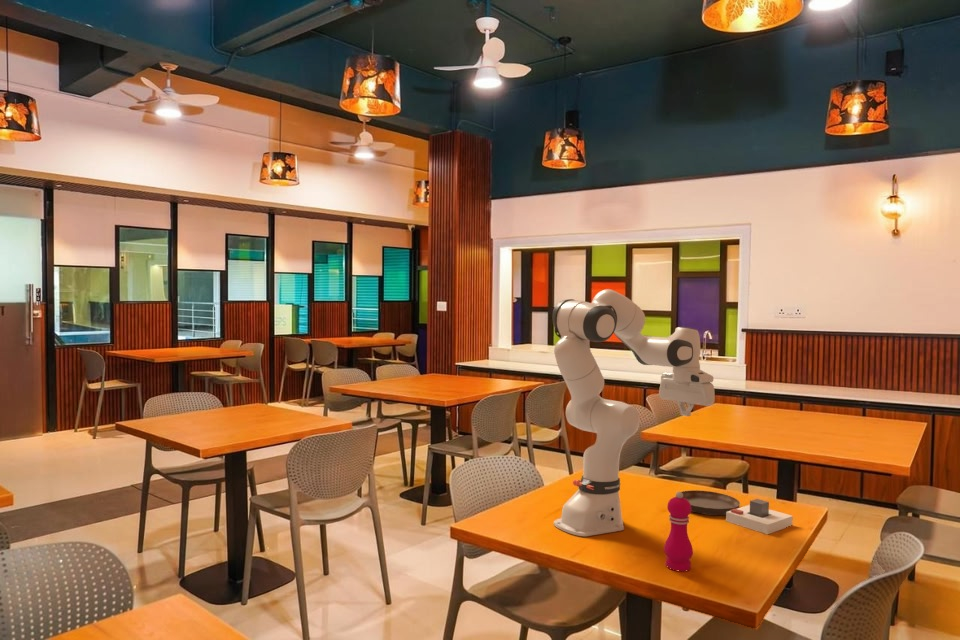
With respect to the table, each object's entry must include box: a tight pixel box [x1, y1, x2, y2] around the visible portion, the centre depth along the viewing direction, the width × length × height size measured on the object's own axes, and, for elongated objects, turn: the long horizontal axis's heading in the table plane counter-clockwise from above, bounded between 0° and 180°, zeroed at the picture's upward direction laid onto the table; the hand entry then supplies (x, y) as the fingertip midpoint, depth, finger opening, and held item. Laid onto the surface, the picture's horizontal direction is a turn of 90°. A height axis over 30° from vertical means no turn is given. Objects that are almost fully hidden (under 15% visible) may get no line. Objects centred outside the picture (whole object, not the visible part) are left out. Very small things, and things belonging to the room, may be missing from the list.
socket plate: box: [725, 504, 794, 535], centre depth 204 cm, size 14×14×4 cm
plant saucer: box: [675, 489, 741, 516], centre depth 220 cm, size 21×21×3 cm
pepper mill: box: [663, 491, 694, 572], centre depth 170 cm, size 7×7×20 cm
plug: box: [749, 498, 770, 518], centre depth 204 cm, size 4×4×7 cm
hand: (685, 415), depth 219 cm, fingers closed
